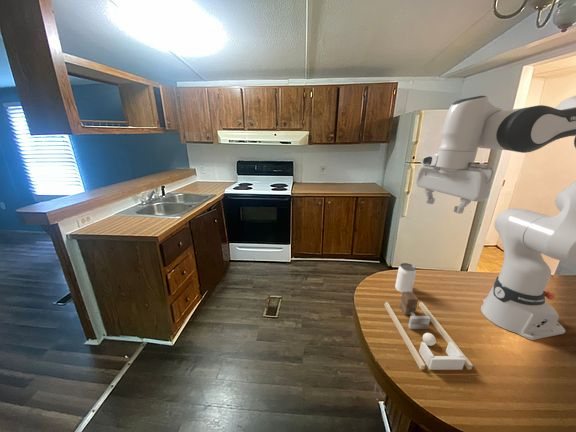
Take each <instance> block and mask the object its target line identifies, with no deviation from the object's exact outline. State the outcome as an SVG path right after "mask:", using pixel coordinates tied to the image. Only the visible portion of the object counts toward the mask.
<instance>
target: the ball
mask: <svg viewBox="0 0 576 432" xmlns="http://www.w3.org/2000/svg"><path fill="white" fill-rule="evenodd" d="M422 342H425V343H426V345H427V346H434V345H435V344H436V343H437V340H436V337H435V336H434V334H432V333H431V332H425V333H423V335H422Z"/></svg>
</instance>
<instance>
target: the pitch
mask: <svg viewBox="0 0 576 432" xmlns="http://www.w3.org/2000/svg"><path fill="white" fill-rule="evenodd" d="M384 307H385V309H386V311H387V313H388V315H389V316H390V318H391V320H392V321H393V324H394V325H395V327H396V329H397V330H398V332H399V334H400V336H401V338H402V340H403V341H404V343H405V344H406V347H407V348H408V350H409V352H410V354H411V355H412V357H413V359H414V361H415V362H416V364H417V367H418V368H419V371H420V370H422V371H423V370H425V368H426V363H425V361H424V360H423V358H422V356H421V355H420V353H419V351H417V349H416V347H415V345H414V344H413V342H412V340H411V339H410V337H409V335H408V334H407V332H406V331H405V328H404V327H403V325H402V323H401V322H400V320H399V319H398V317H397V315H396V313H395V312H394V310H393V309H392V307H391V306H390V303H389V302H388V301H385V302H384ZM418 307H419V308H420V309H421V311H422V312H423V313H424V314H425V316H429V317H430V322H431V324H432V325H433V326H434V327H435V329H436V330H437V331H438V333H439V334H440V335H441V337H442V339H444V340H445V342H446V343H447V344H448V343H449V342H453V344H454V345H455V346H456V348H457V349H458V350H459V351H460V353H461V354H462V355H463V356H464V358H465V359H466V360H465V363H464V367H465V368H466V370H470V371H471V370H473V369H472V368H473V366H474V364H472V362H471V361H470V360H469V358H468V356H466V355H465V354H464V353H463V351H462V350H461V349H460V347H459V346H458V345H457V344H456V342H455V341H454V339H453V338H452V337H451V336H450V335H449V334H448V332H447V331H446V330H445V328H443V325H441V324H440V321H438V320H437V318H436V317H435V316H434V315H433V314H432V312H431V311H430V309H428V308H427V306H426V305H425V304H424V302H423V301H419V302H418Z"/></svg>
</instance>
